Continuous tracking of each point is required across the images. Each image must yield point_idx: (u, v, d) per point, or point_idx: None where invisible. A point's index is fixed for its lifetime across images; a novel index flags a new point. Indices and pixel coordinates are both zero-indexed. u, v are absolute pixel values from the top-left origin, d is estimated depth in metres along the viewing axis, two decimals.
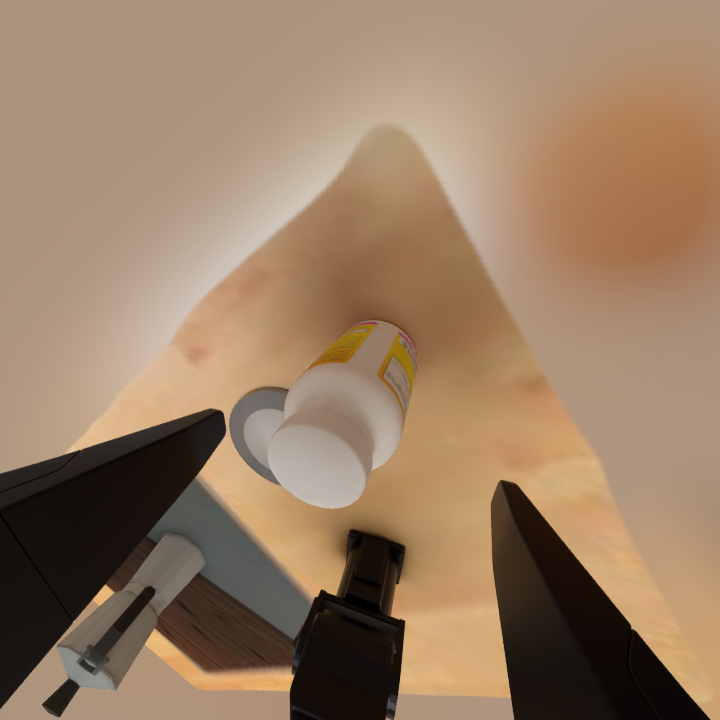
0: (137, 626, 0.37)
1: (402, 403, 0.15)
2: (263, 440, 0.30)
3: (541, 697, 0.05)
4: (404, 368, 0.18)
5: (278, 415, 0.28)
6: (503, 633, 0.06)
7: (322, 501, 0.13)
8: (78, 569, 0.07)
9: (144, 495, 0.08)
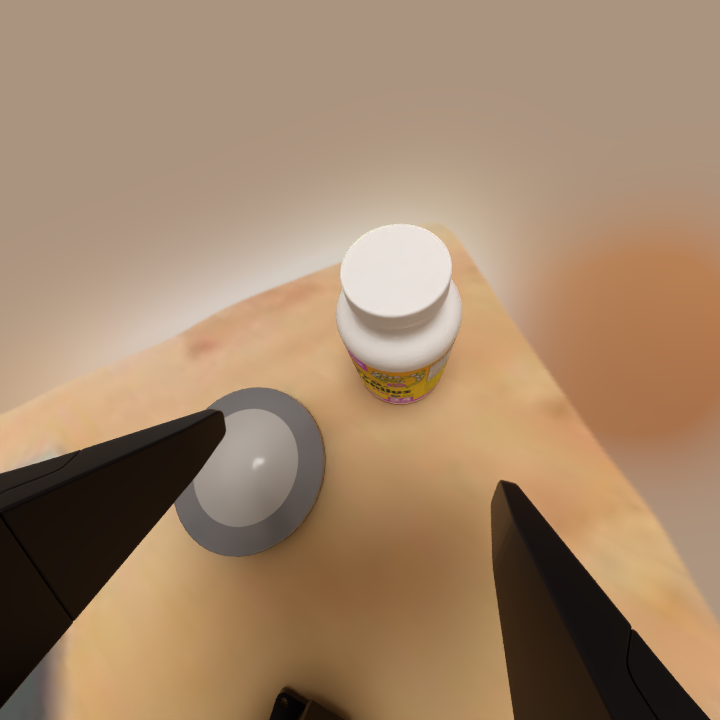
0: None
1: None
2: (223, 457, 0.22)
3: (541, 697, 0.05)
4: None
5: (265, 419, 0.23)
6: (503, 633, 0.06)
7: (391, 305, 0.11)
8: (78, 570, 0.07)
9: (144, 495, 0.08)
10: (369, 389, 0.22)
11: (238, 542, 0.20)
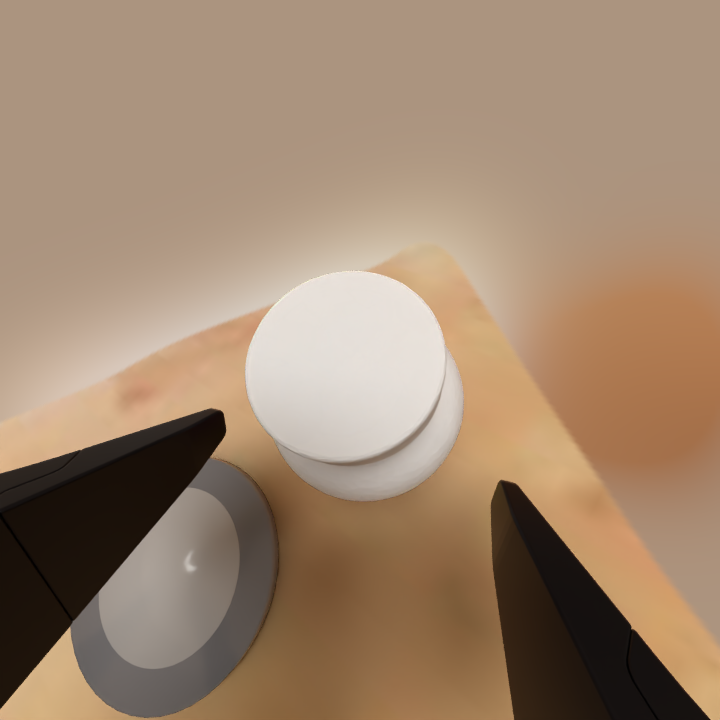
0: None
1: None
2: (142, 556, 0.17)
3: (541, 697, 0.05)
4: None
5: (201, 503, 0.17)
6: (503, 633, 0.06)
7: (329, 437, 0.06)
8: (79, 569, 0.07)
9: (144, 495, 0.08)
10: None
11: (148, 693, 0.14)
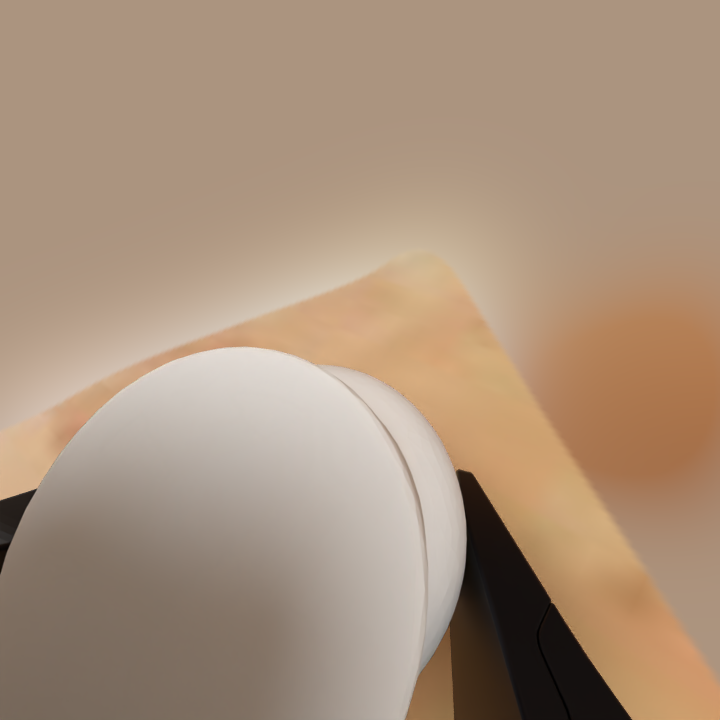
0: None
1: None
2: None
3: (470, 669, 0.05)
4: None
5: None
6: None
7: None
8: None
9: None
10: None
11: None
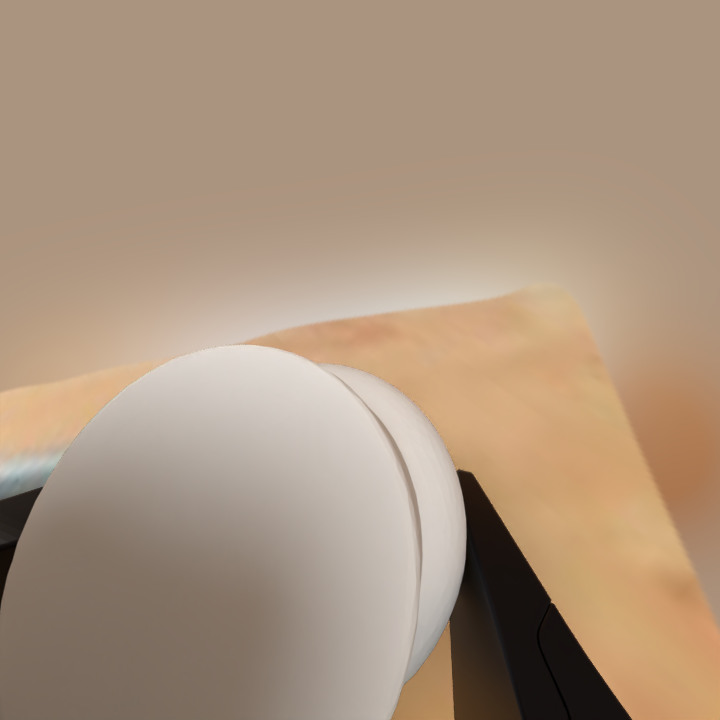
0: None
1: None
2: None
3: (470, 669, 0.05)
4: None
5: None
6: None
7: None
8: None
9: None
10: None
11: None
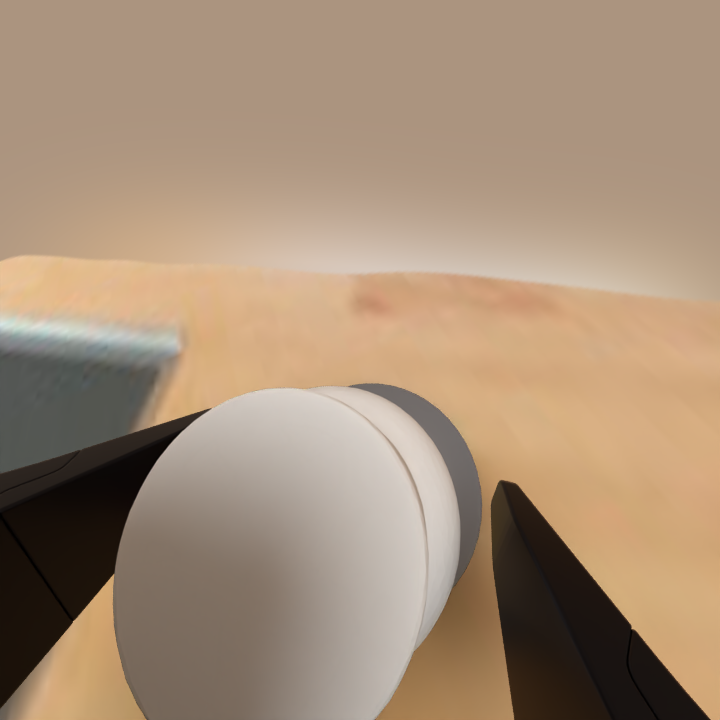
0: None
1: None
2: None
3: (541, 697, 0.05)
4: None
5: None
6: (503, 633, 0.06)
7: None
8: (78, 569, 0.07)
9: None
10: None
11: None
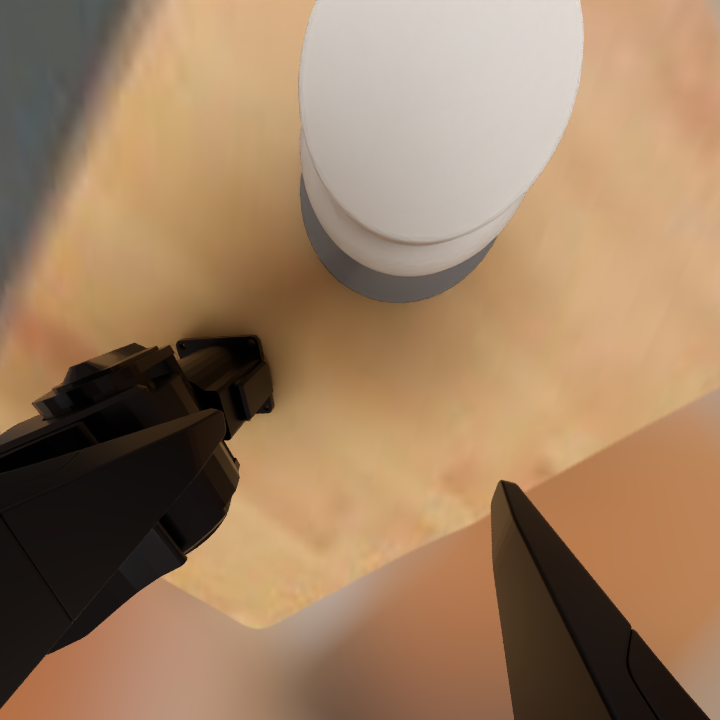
0: None
1: None
2: None
3: (541, 697, 0.05)
4: None
5: None
6: (503, 633, 0.06)
7: (362, 192, 0.05)
8: (78, 569, 0.07)
9: (144, 495, 0.08)
10: None
11: (325, 242, 0.18)
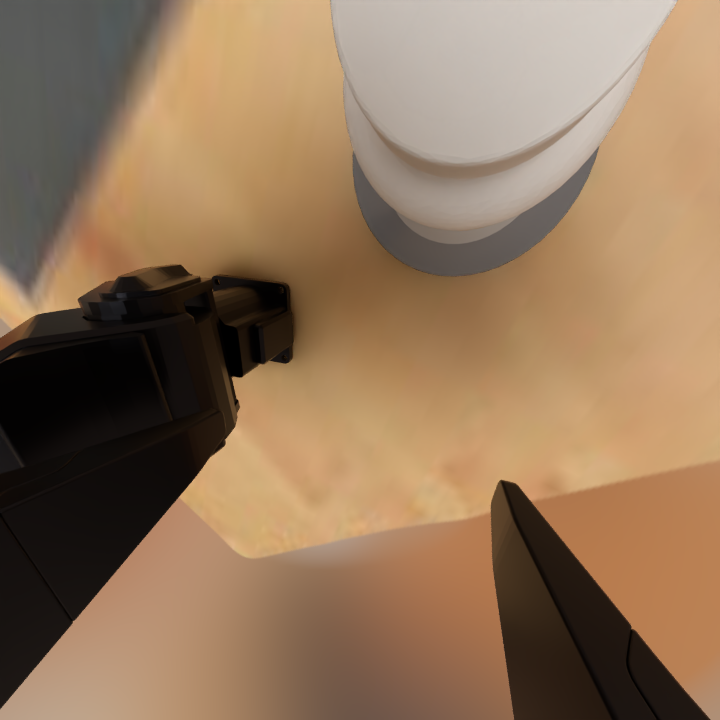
0: None
1: None
2: None
3: (541, 697, 0.05)
4: None
5: None
6: (503, 633, 0.06)
7: (387, 89, 0.05)
8: (78, 569, 0.07)
9: (144, 495, 0.08)
10: None
11: (371, 195, 0.17)
